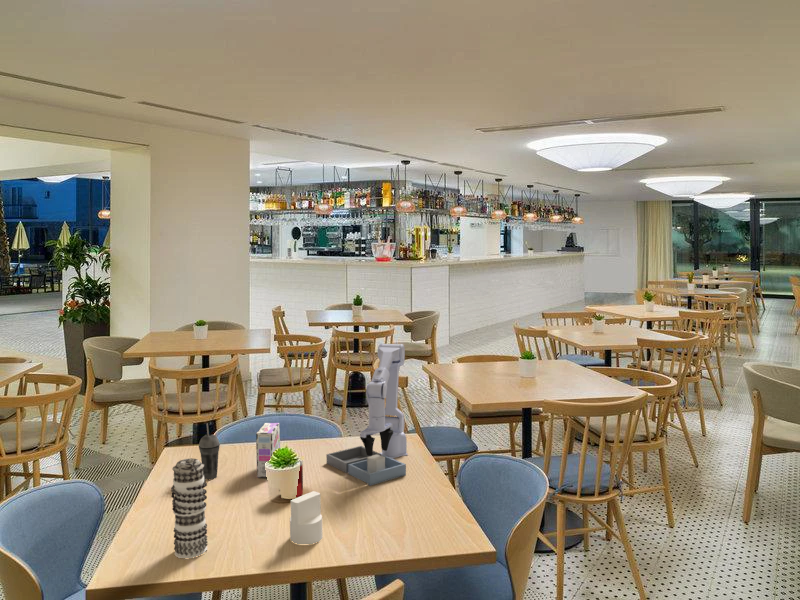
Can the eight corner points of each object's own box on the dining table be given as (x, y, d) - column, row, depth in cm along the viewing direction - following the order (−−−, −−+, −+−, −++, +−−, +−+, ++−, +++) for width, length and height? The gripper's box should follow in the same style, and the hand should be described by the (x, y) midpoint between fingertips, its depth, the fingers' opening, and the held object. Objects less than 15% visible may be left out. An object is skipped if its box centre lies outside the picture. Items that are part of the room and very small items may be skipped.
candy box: (272, 478, 225) (271, 432, 223) (256, 478, 225) (255, 432, 224) (281, 464, 239) (280, 422, 237) (265, 464, 239) (264, 422, 237)
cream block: (376, 470, 231) (375, 454, 230) (385, 473, 228) (385, 457, 227) (367, 473, 227) (367, 457, 227) (376, 476, 224) (376, 460, 224)
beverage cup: (224, 473, 229) (222, 419, 228) (216, 481, 222) (214, 425, 220) (204, 473, 230) (202, 419, 228) (196, 480, 223) (194, 425, 221)
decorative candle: (212, 543, 176) (210, 455, 174) (203, 559, 167) (200, 467, 164) (179, 543, 176) (176, 455, 173) (168, 560, 166) (165, 467, 164)
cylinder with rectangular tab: (307, 528, 185) (306, 488, 184) (329, 537, 179) (328, 496, 178) (283, 539, 178) (282, 497, 177) (305, 549, 172) (304, 506, 171)
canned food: (274, 497, 208) (273, 464, 207) (289, 489, 215) (288, 457, 214) (292, 501, 204) (292, 468, 203) (307, 493, 211) (307, 461, 210)
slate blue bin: (383, 465, 237) (383, 455, 237) (405, 475, 227) (405, 464, 227) (348, 475, 227) (348, 464, 227) (369, 485, 217) (369, 474, 217)
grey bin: (361, 455, 249) (361, 445, 248) (381, 464, 239) (381, 454, 238) (326, 464, 239) (326, 454, 238) (346, 474, 229) (345, 463, 228)
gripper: (382, 409, 234) (383, 445, 235) (354, 417, 223) (354, 455, 224) (396, 412, 229) (397, 449, 230) (368, 421, 218) (368, 459, 219)
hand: (377, 452), depth 227 cm, fingers open, 7 cm apart
